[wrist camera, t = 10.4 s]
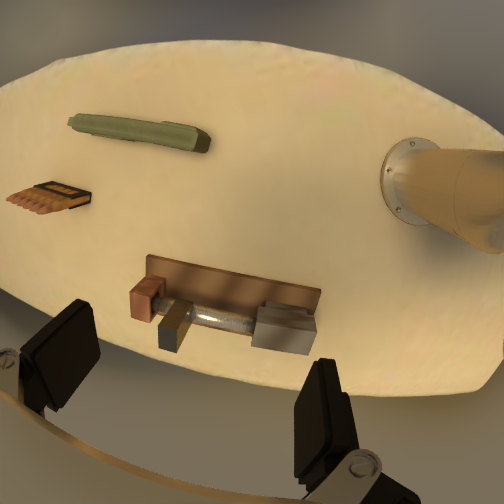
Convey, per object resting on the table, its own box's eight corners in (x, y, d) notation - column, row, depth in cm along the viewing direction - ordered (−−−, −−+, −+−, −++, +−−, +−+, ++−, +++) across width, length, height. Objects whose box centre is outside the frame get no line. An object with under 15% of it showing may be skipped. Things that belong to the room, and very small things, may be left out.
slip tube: (279, 314, 37) (278, 352, 29) (273, 334, 38) (271, 373, 30) (146, 285, 38) (119, 313, 30) (146, 305, 39) (122, 336, 31)
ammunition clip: (91, 192, 38) (40, 207, 26) (90, 203, 38) (40, 221, 27) (51, 181, 37) (3, 192, 26) (50, 190, 38) (3, 204, 27)
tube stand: (320, 289, 39) (327, 315, 32) (302, 341, 43) (305, 371, 36) (148, 254, 40) (126, 272, 33) (148, 308, 43) (130, 331, 37)
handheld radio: (206, 157, 35) (72, 132, 34) (213, 134, 34) (77, 113, 33) (192, 154, 28) (46, 130, 28) (200, 127, 27) (51, 109, 27)
